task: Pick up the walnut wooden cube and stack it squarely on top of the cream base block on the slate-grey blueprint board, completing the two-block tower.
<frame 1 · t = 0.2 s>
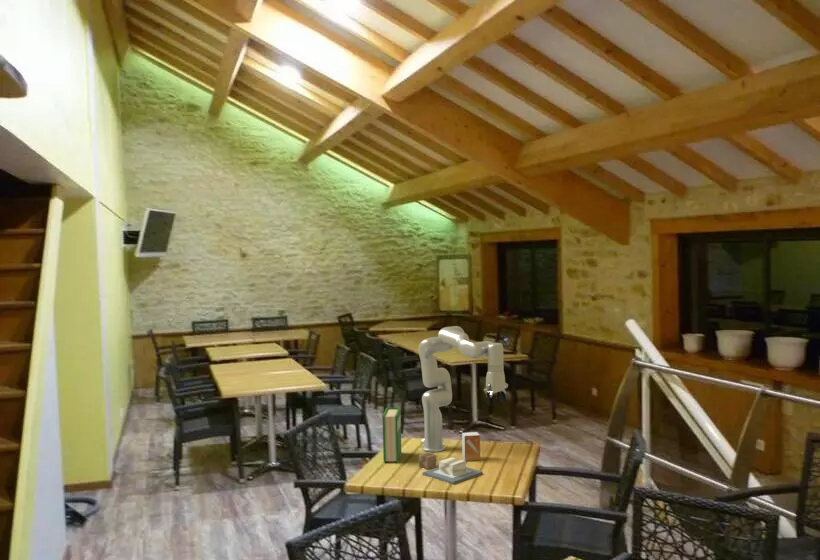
hand: (496, 403, 338), 31 cm above the table, tool pointing down, fingers open, 9 cm apart
small box: (471, 459, 352), on the table
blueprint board: (452, 474, 329), on the table
hardback book: (392, 458, 358), on the table
walnut cube: (427, 467, 341), on the table
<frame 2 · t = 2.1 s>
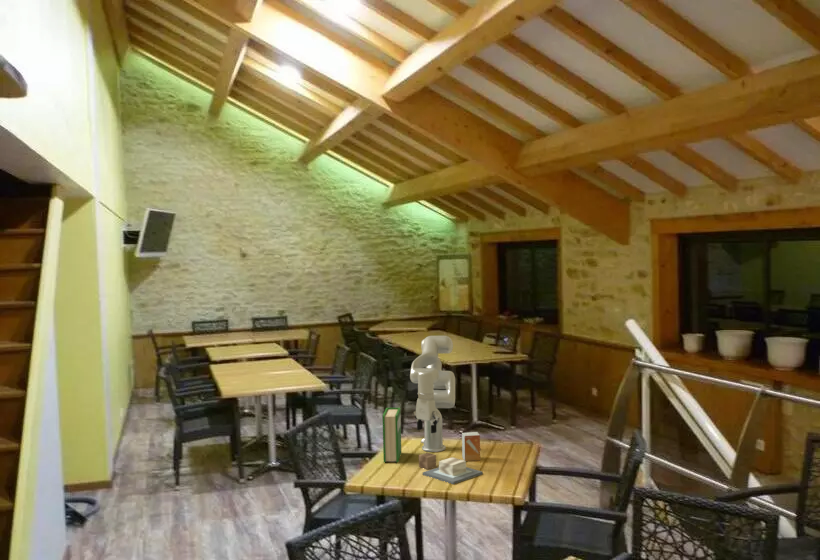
hand: (426, 431, 340), 18 cm above the table, tool pointing down, fingers open, 9 cm apart
nothing on the table moved.
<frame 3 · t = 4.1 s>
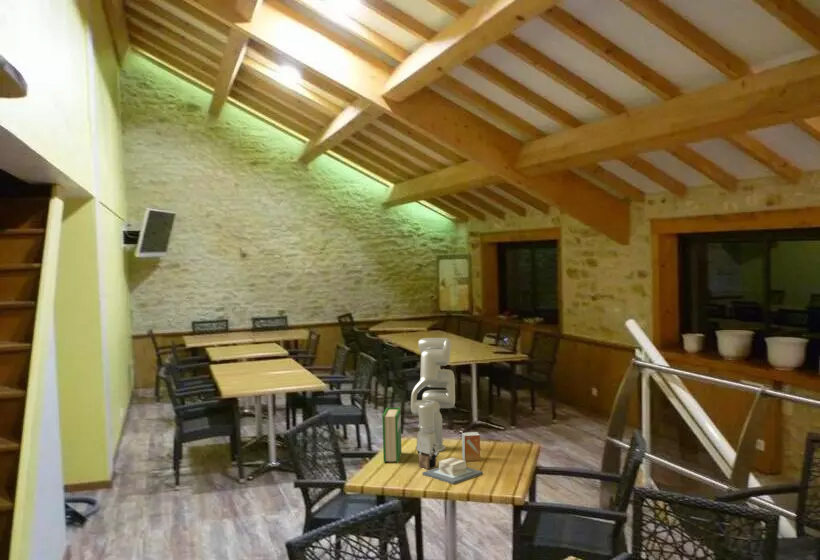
hand: (427, 465, 341), 1 cm above the table, tool pointing down, fingers closed on walnut cube, 6 cm apart
walnut cube: (427, 467, 341), on the table, touching gripper
everything else where it was.
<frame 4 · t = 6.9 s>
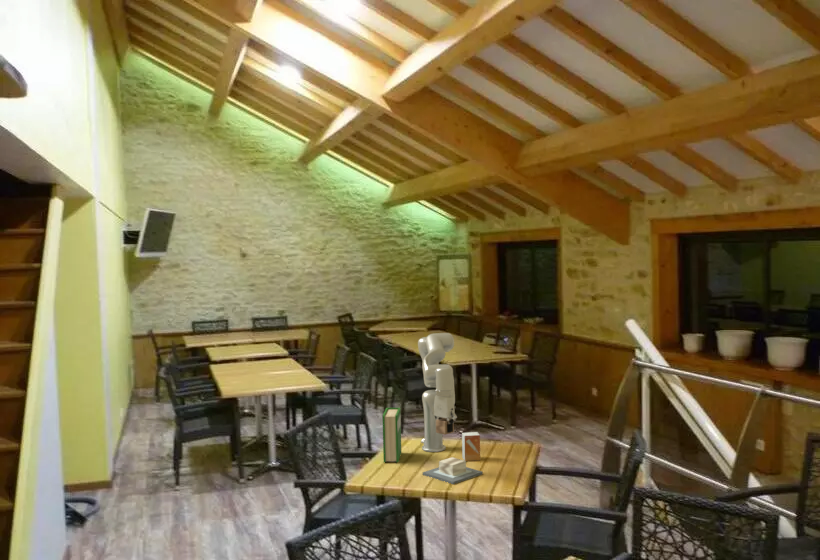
hand: (445, 430, 331), 20 cm above the table, tool pointing down, fingers closed on walnut cube, 6 cm apart
walnut cube: (445, 432, 331), point 19 cm above the table, touching gripper
everything else where it was.
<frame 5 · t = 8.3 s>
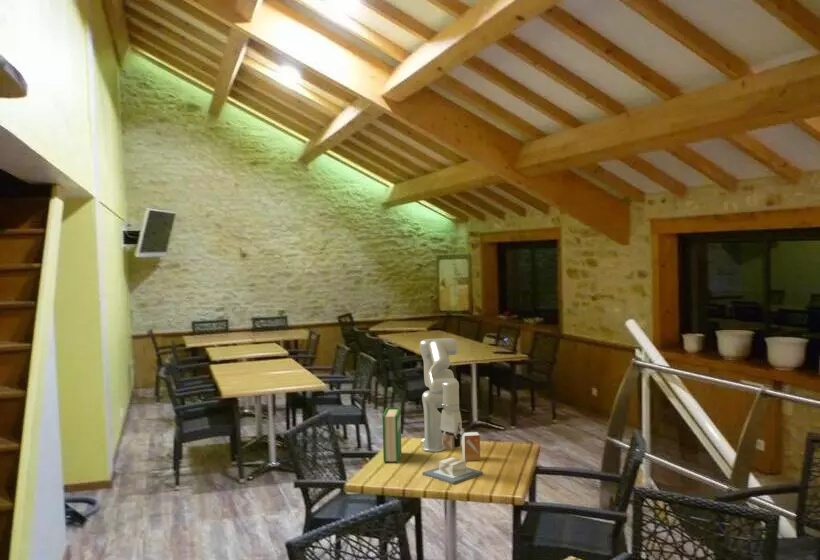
hand: (452, 445, 328), 14 cm above the table, tool pointing down, fingers closed on walnut cube, 6 cm apart
walnut cube: (452, 446, 328), point 13 cm above the table, touching gripper
everything else where it was.
when the fingers open (9 cm above the table, at t = 9.7 s): walnut cube drops 1 cm, resting on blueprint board.
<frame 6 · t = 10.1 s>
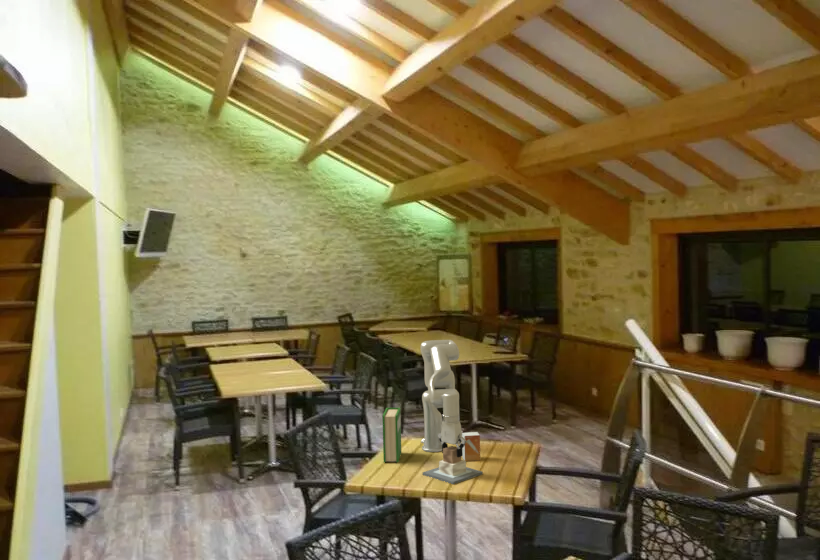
hand: (452, 454, 329), 9 cm above the table, tool pointing down, fingers open, 9 cm apart
walnut cube: (452, 461, 329), point 6 cm above the table, touching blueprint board
everything else where it was.
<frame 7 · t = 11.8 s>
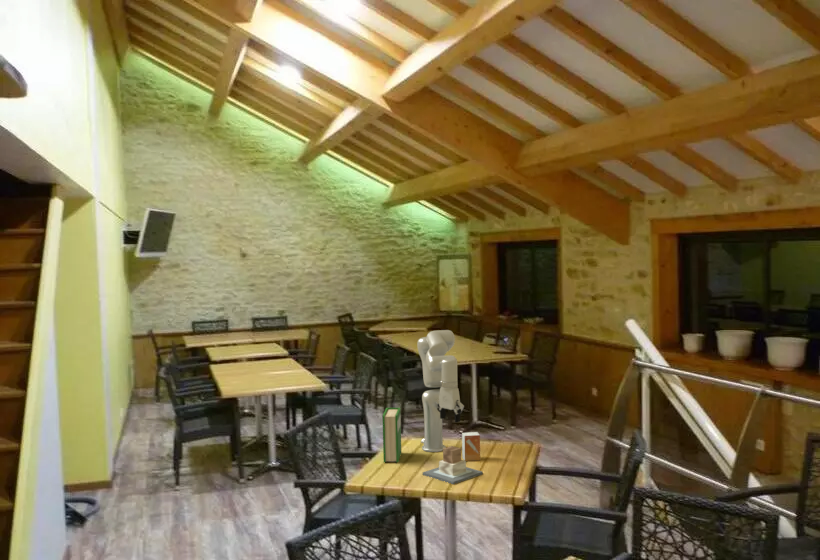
hand: (450, 420, 332), 25 cm above the table, tool pointing down, fingers open, 9 cm apart
nothing on the table moved.
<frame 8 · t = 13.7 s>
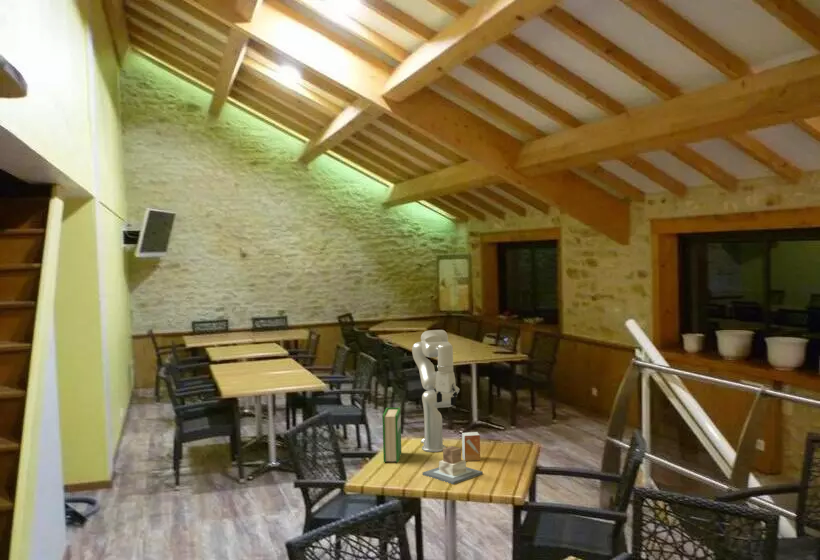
hand: (446, 403, 344), 30 cm above the table, tool pointing down, fingers open, 9 cm apart
nothing on the table moved.
at the end: walnut cube 0.1 cm off-centre on the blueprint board, point 6.4 cm above the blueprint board's base; walnut cube tilted 0°; the gripper is holding nothing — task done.
